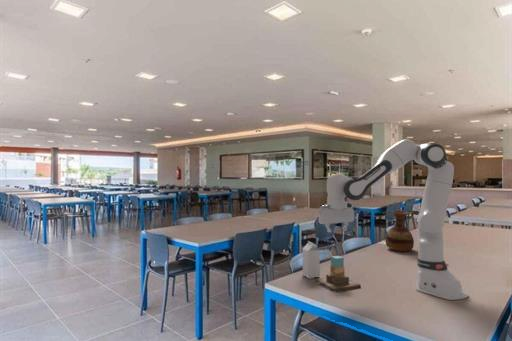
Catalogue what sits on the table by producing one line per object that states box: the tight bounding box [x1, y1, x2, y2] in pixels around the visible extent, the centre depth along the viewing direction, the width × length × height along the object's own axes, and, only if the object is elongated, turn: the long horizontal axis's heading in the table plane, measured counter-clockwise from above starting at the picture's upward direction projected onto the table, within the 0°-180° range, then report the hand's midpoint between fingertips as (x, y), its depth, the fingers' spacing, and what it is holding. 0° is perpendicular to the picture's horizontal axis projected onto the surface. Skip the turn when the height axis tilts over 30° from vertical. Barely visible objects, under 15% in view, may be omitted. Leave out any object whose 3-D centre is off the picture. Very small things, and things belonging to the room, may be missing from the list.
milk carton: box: [302, 240, 321, 279], centre depth 176 cm, size 7×7×19 cm
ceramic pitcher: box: [385, 210, 415, 252], centre depth 242 cm, size 20×20×30 cm
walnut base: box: [315, 273, 361, 292], centre depth 162 cm, size 16×16×4 cm
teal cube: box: [330, 255, 345, 268], centre depth 163 cm, size 4×4×4 cm
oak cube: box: [329, 264, 346, 278], centre depth 162 cm, size 5×5×5 cm
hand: (337, 231), depth 163 cm, fingers open, 8 cm apart
